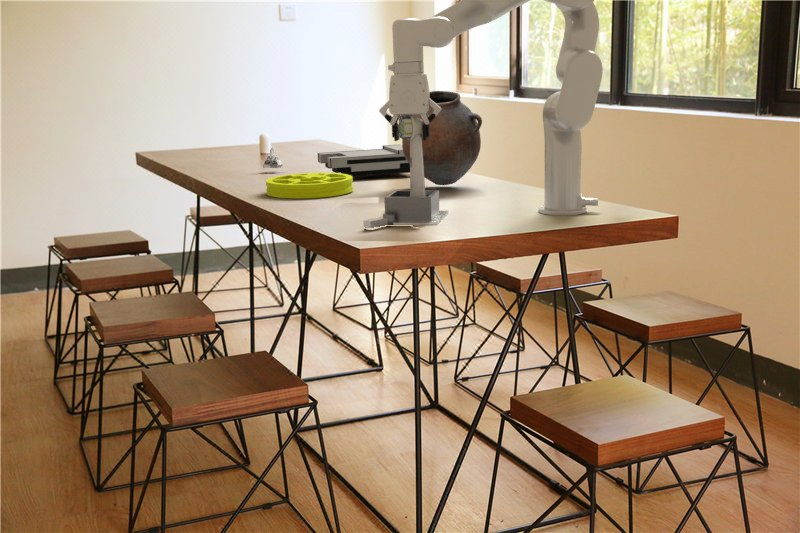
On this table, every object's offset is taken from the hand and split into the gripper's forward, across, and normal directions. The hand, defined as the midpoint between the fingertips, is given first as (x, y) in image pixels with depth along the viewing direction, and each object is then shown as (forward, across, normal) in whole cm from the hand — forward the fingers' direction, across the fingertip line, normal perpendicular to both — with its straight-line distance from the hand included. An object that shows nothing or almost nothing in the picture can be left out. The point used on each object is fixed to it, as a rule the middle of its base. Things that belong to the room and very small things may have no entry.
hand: (411, 139), depth 243 cm
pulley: (+21, -44, +51) cm, 71 cm away
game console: (+22, -36, +97) cm, 106 cm away
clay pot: (+21, -3, +62) cm, 66 cm away
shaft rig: (+21, 0, 0) cm, 21 cm away
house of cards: (+21, -77, +114) cm, 139 cm away
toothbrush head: (+19, 0, 0) cm, 19 cm away
